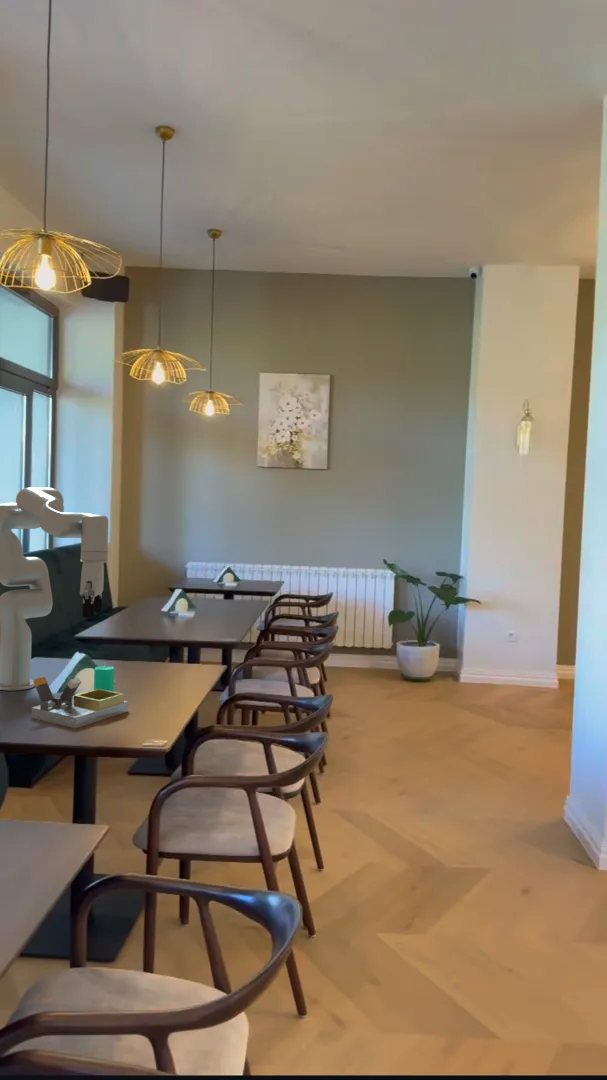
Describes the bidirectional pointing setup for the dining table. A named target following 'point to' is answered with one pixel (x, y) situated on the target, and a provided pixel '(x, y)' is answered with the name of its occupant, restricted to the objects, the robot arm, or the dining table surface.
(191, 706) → the dining table surface
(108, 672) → the candle
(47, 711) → the panel
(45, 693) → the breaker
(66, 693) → the block
